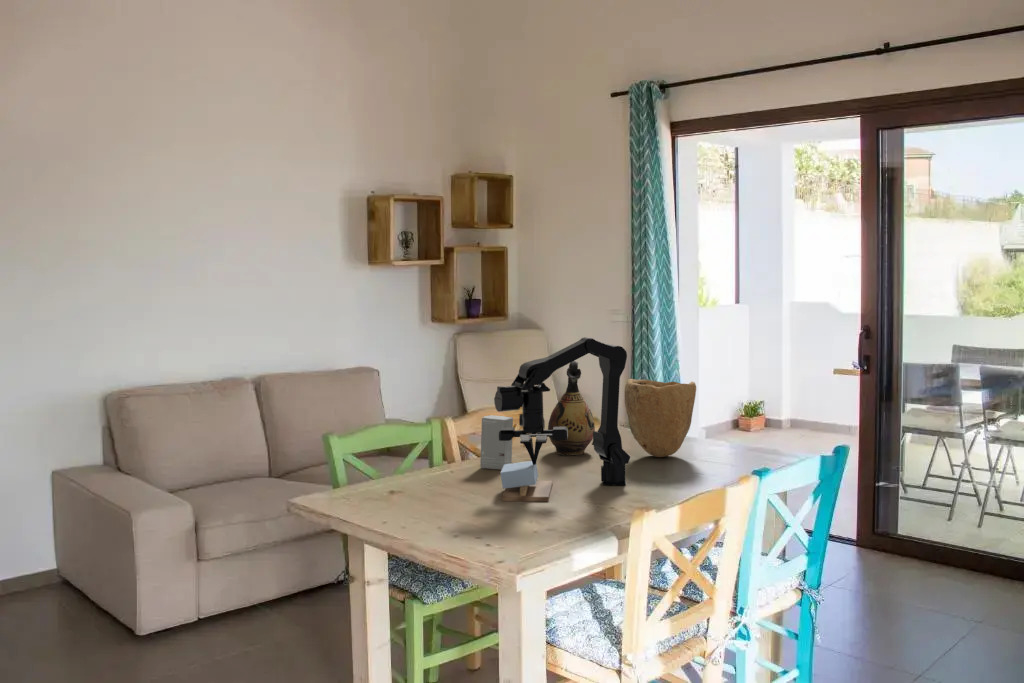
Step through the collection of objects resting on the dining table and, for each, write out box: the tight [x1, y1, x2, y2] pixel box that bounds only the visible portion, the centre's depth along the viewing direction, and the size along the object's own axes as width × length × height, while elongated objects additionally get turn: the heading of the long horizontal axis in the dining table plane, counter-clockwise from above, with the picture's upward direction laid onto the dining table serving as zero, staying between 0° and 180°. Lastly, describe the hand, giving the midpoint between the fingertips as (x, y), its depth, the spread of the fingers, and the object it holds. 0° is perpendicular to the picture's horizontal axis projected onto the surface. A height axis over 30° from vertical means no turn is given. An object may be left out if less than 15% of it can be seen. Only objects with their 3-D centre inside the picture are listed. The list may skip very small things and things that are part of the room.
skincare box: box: [479, 414, 514, 471], centre depth 302 cm, size 8×7×16 cm
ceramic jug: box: [547, 360, 596, 456], centre depth 322 cm, size 17×15×30 cm
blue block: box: [500, 460, 539, 490], centre depth 271 cm, size 4×10×9 cm
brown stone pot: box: [624, 378, 697, 458], centre depth 312 cm, size 22×22×25 cm
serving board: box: [501, 480, 554, 502], centre depth 271 cm, size 12×18×3 cm
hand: (534, 464), depth 270 cm, fingers closed, pressing on blue block
